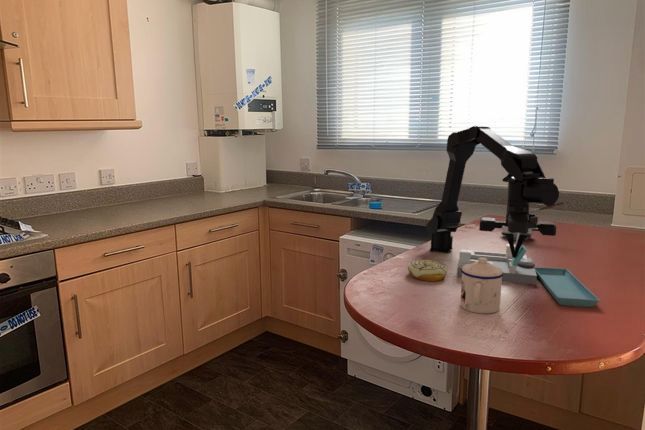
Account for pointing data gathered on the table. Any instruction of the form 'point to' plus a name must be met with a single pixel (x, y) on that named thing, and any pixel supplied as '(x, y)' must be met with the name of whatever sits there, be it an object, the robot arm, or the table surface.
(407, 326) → the table surface
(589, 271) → the table surface
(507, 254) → the cream slider
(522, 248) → the paddle lever
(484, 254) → the panel
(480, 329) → the table surface
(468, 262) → the grey slider
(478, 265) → the teacup with lid
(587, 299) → the rectangular tray
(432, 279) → the decorated donut
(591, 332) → the table surface
